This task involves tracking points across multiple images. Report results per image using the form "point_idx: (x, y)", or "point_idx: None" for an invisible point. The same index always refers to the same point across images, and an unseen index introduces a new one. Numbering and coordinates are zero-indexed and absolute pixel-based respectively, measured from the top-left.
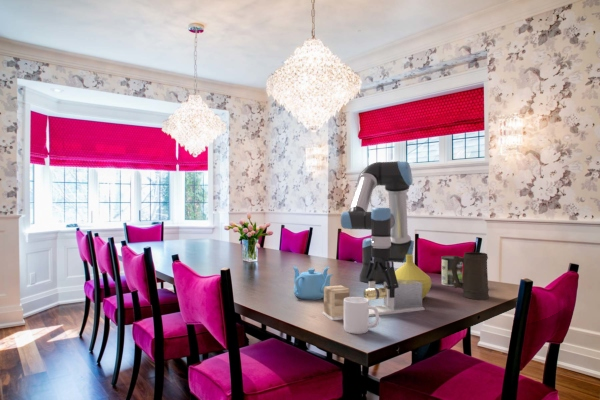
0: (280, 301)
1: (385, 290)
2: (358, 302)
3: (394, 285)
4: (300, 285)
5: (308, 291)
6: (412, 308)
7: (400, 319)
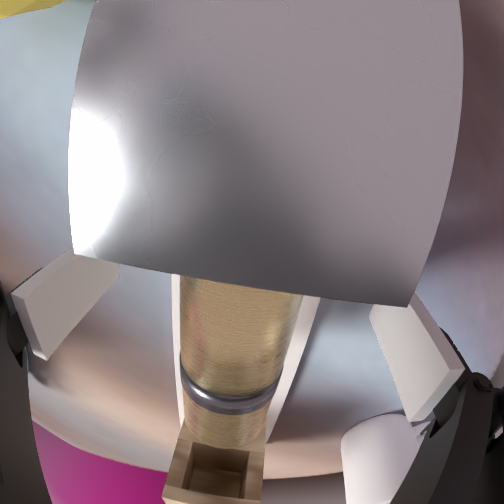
0: (53, 408)
1: (288, 325)
2: (373, 489)
3: (499, 427)
4: None
5: None
6: None
7: (430, 258)
